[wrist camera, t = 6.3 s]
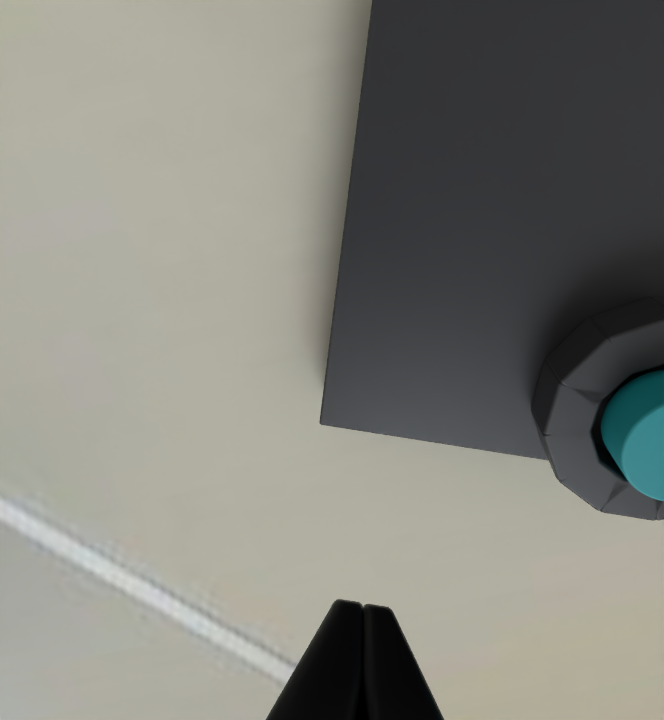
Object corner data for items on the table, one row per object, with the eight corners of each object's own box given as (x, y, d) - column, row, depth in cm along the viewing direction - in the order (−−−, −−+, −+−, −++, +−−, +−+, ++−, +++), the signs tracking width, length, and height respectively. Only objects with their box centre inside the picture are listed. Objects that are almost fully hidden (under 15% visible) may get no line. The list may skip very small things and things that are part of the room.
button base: (677, 463, 19) (736, 534, 15) (324, 408, 19) (310, 466, 16) (867, 37, 14) (1012, 13, 10) (379, -19, 14) (374, -60, 11)
